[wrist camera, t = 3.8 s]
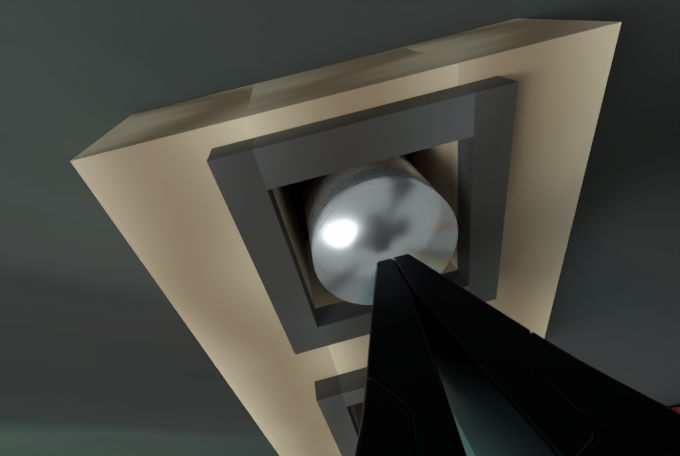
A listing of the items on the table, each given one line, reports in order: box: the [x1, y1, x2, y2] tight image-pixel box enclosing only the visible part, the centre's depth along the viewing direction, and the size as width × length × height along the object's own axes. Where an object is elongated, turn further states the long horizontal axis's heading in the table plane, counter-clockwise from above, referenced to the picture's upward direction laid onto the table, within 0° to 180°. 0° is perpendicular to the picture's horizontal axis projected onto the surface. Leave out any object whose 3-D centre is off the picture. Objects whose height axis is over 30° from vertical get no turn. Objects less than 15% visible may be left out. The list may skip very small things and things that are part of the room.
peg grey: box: [300, 155, 458, 305], centre depth 11 cm, size 4×4×5 cm
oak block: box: [71, 18, 622, 456], centre depth 14 cm, size 13×18×5 cm
